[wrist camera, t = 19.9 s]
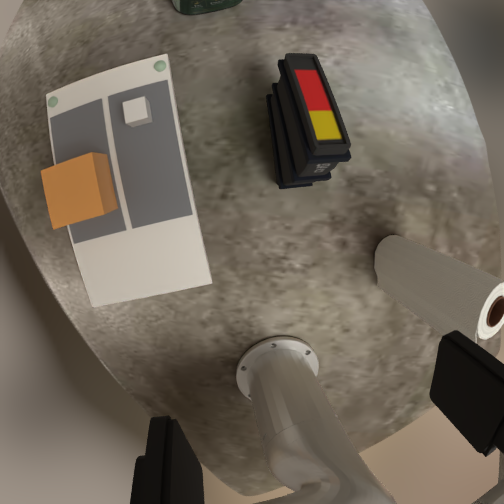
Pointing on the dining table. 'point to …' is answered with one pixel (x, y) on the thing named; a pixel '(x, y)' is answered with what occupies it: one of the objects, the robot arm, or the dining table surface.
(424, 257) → the paper towel roll
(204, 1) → the coffee jar
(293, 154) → the magazine
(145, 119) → the lever
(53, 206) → the cap
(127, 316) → the dining table surface
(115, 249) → the board
